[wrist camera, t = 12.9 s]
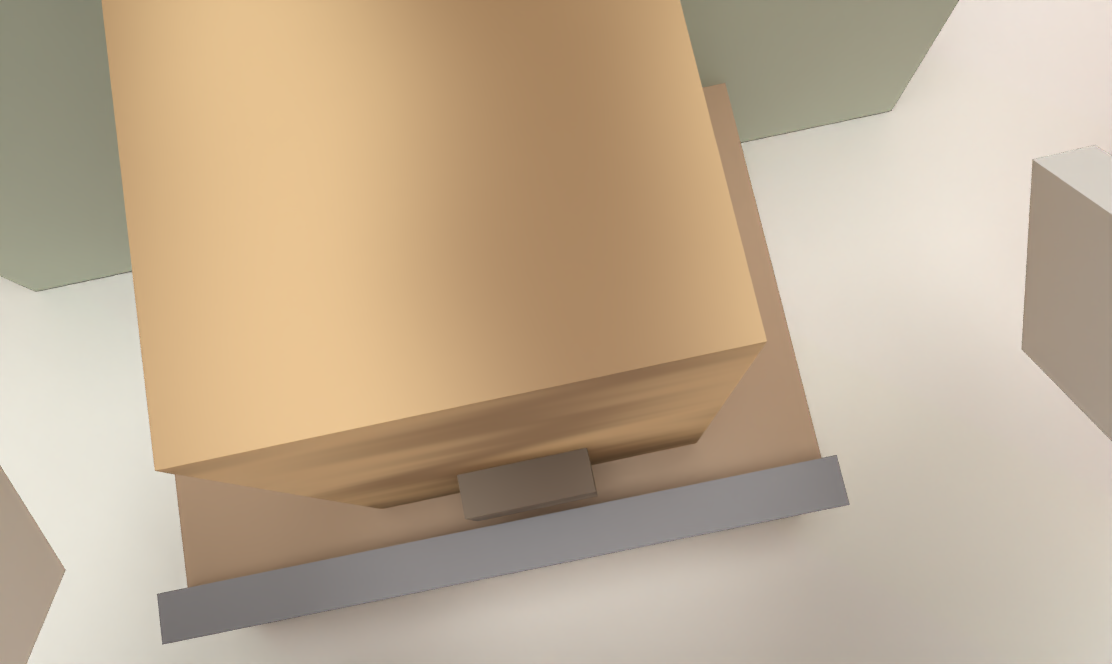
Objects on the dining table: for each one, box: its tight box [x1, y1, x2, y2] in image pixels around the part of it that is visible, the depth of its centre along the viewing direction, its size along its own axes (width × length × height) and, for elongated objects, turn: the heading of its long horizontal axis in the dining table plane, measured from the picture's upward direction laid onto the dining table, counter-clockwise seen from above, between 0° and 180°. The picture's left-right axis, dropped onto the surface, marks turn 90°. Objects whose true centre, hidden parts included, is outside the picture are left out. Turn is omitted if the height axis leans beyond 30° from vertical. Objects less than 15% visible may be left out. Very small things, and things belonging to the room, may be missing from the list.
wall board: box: [0, 0, 959, 644], centre depth 15 cm, size 24×12×24 cm, turn 101°
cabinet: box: [101, 0, 767, 521], centre depth 17 cm, size 7×7×11 cm
